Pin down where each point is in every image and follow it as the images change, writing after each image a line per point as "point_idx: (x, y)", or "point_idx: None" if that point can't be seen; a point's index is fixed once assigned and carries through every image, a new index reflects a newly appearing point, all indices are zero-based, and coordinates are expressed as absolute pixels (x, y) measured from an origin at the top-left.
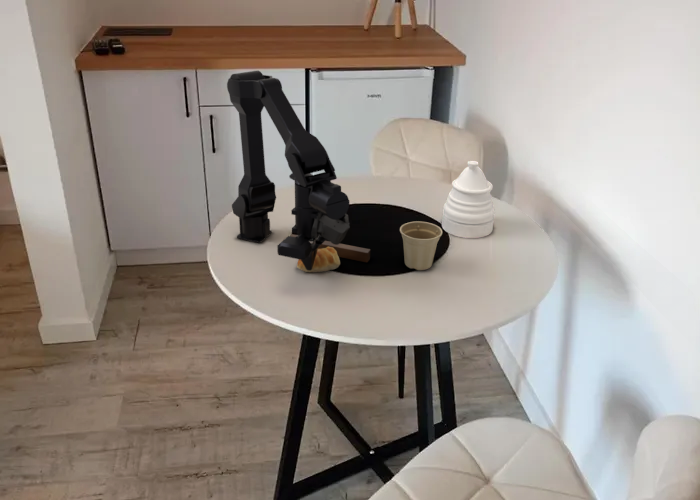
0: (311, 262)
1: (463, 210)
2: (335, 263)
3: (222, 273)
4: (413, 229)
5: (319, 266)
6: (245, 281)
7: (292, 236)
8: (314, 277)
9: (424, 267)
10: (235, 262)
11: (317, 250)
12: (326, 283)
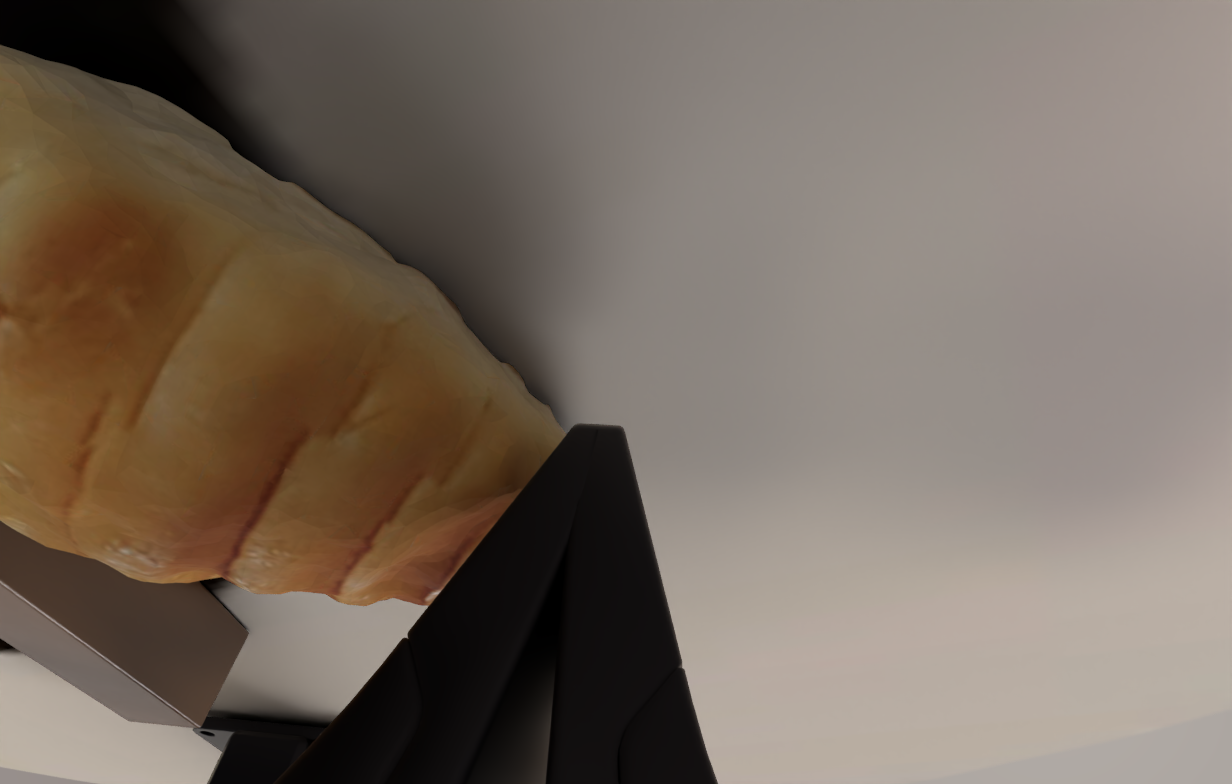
0: (656, 582)
1: None
2: (68, 136)
3: (849, 780)
4: None
5: (420, 359)
6: (939, 710)
7: (151, 713)
8: (622, 292)
9: None
10: None
11: (312, 745)
12: (745, 3)
